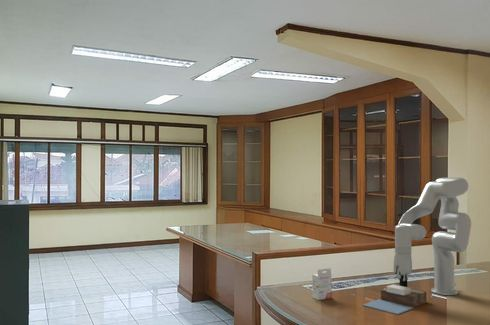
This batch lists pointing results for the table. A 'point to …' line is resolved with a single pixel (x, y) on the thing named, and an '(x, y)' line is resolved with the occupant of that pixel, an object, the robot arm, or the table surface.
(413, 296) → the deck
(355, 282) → the table surface
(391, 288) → the block
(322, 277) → the ink cartridge box
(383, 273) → the table surface
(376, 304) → the mat
